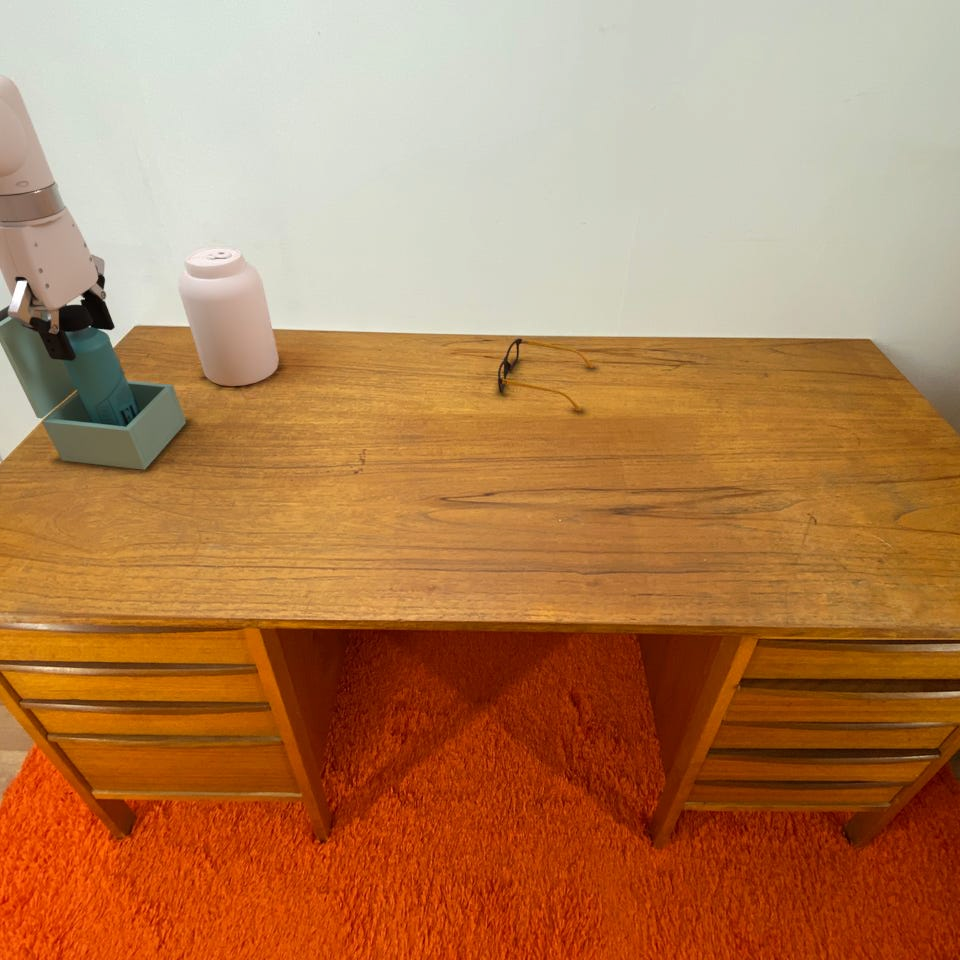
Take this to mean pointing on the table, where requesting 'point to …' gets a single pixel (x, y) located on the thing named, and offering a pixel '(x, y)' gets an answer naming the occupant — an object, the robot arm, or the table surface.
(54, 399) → the lid
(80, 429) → the cool box
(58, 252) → the robot arm
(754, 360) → the table surface
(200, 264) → the can
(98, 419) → the beverage bottle
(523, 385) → the eyeglasses
